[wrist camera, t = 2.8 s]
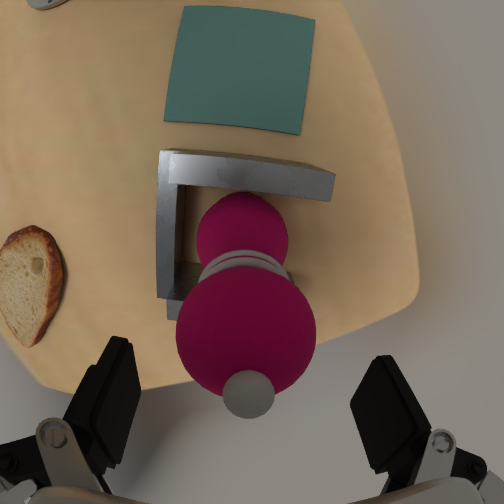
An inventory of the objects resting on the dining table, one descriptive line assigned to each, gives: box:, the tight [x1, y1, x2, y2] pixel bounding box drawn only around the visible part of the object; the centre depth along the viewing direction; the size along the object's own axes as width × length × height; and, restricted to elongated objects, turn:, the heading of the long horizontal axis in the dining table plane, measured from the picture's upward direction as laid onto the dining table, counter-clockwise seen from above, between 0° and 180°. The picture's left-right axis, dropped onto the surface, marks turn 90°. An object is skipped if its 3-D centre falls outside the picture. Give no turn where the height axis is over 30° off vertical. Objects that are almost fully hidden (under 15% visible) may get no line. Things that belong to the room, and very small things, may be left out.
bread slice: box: [0, 225, 63, 348], centre depth 27 cm, size 18×18×4 cm
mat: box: [164, 6, 315, 135], centre depth 20 cm, size 12×12×1 cm
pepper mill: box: [176, 192, 316, 419], centre depth 17 cm, size 7×7×20 cm
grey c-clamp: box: [156, 148, 336, 321], centre depth 24 cm, size 20×13×7 cm, turn 173°
